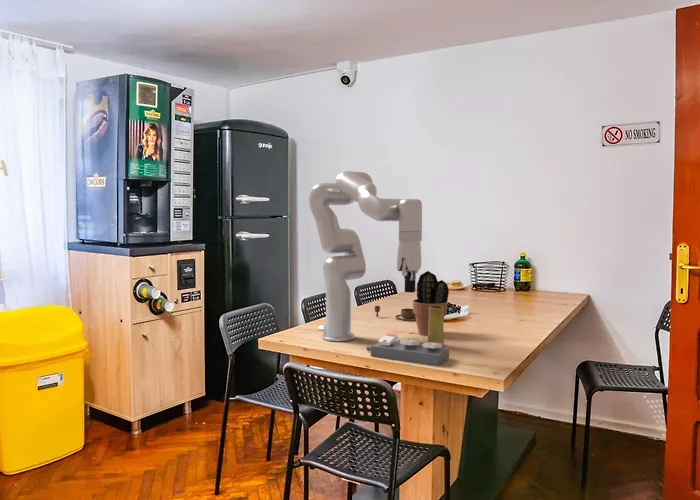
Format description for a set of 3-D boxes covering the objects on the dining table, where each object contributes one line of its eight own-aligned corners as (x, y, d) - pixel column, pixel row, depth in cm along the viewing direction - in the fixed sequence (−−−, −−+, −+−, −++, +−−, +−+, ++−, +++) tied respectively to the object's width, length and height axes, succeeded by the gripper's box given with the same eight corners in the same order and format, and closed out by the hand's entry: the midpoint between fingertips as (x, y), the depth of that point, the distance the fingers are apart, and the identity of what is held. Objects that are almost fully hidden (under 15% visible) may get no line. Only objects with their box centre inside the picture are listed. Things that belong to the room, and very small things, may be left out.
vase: (442, 343, 199) (442, 305, 198) (445, 347, 193) (446, 308, 192) (425, 343, 199) (426, 305, 198) (428, 348, 193) (429, 308, 192)
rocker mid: (399, 343, 178) (400, 339, 178) (408, 343, 184) (408, 339, 184) (410, 345, 176) (411, 341, 176) (419, 344, 182) (419, 340, 182)
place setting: (407, 325, 234) (407, 311, 234) (372, 319, 248) (372, 306, 247) (430, 319, 247) (430, 306, 247) (395, 313, 260) (395, 301, 260)
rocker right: (422, 346, 174) (422, 342, 174) (430, 345, 180) (430, 341, 180) (434, 348, 172) (434, 344, 172) (441, 347, 178) (441, 343, 178)
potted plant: (420, 338, 207) (421, 273, 205) (407, 331, 220) (407, 270, 218) (453, 336, 210) (453, 272, 208) (438, 329, 223) (438, 268, 222)
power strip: (360, 354, 184) (360, 343, 184) (373, 348, 193) (373, 337, 192) (438, 366, 170) (438, 353, 170) (449, 358, 179) (449, 346, 178)
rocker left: (378, 344, 182) (378, 340, 182) (387, 336, 188) (387, 333, 188) (389, 345, 180) (388, 342, 180) (397, 338, 186) (397, 334, 186)
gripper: (408, 235, 186) (408, 288, 187) (390, 237, 173) (390, 294, 174) (429, 236, 182) (429, 289, 183) (411, 238, 169) (411, 296, 170)
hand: (410, 291), depth 179 cm, fingers closed
